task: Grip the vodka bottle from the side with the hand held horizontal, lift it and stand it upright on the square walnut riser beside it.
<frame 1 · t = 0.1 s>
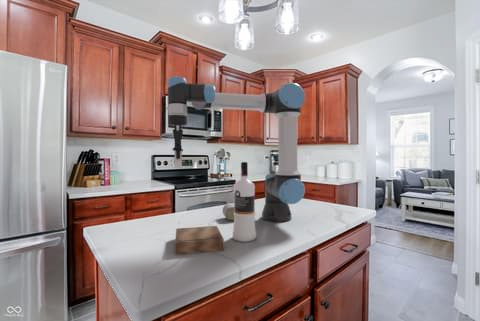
hand: (178, 166, 102), 28 cm above the worktop, tool pointing down, fingers open, 13 cm apart
ceramic mug: (233, 219, 125), on the worktop
riser: (198, 244, 90), on the worktop
vodka: (244, 238, 96), on the worktop
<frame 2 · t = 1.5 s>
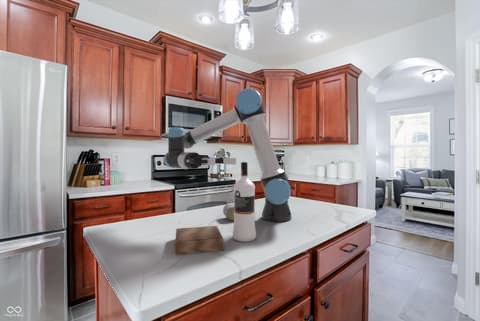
hand: (225, 161, 101), 30 cm above the worktop, tool horizontal, fingers open, 13 cm apart
nothing on the worktop moved.
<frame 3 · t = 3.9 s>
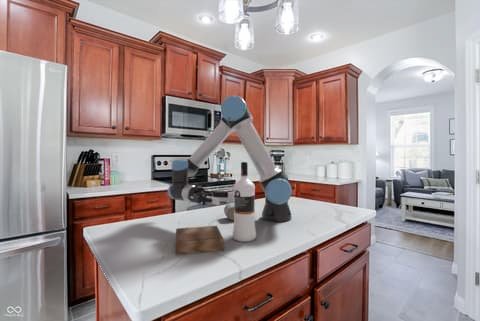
hand: (230, 198, 99), 15 cm above the worktop, tool horizontal, fingers open, 13 cm apart
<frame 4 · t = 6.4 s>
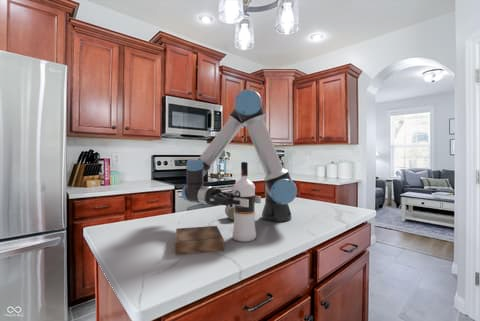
hand: (254, 201, 93), 15 cm above the worktop, tool horizontal, fingers closed on vodka, 8 cm apart
vodka: (244, 238, 96), on the worktop, touching gripper
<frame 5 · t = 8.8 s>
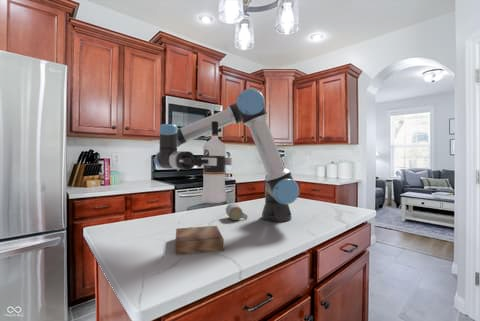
hand: (223, 161, 89), 30 cm above the worktop, tool horizontal, fingers closed on vodka, 8 cm apart
vodka: (213, 201, 92), point 15 cm above the worktop, touching gripper
when the fingers open (20 cm above the worktop, at t = 11.4 s): vodka stays where it is, resting on riser.
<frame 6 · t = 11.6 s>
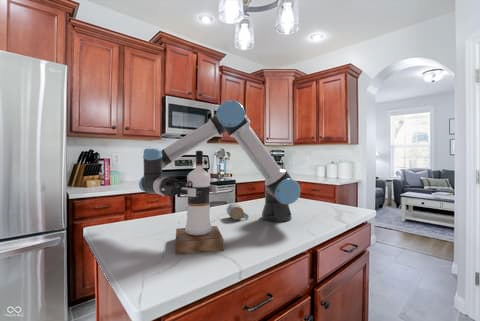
hand: (206, 190, 87), 20 cm above the worktop, tool horizontal, fingers open, 10 cm apart
vodka: (198, 232, 90), point 4 cm above the worktop, touching riser
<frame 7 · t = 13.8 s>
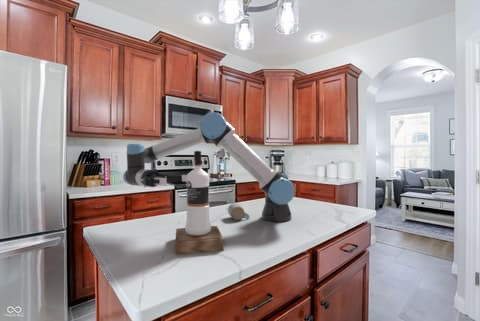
hand: (180, 180, 96), 23 cm above the worktop, tool horizontal, fingers open, 13 cm apart
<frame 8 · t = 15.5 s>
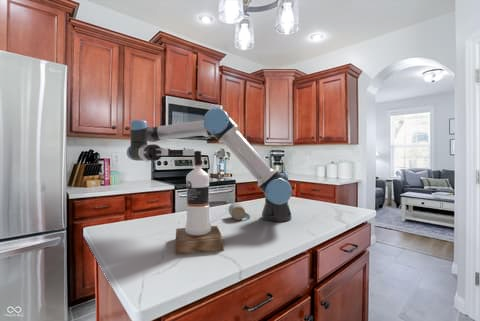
hand: (181, 152, 101), 34 cm above the worktop, tool horizontal, fingers open, 13 cm apart
at the end: vodka inside the target area on the riser (0.1 cm from its centre), point 4.1 cm above the riser's base; vodka tilted 0°; the gripper is holding nothing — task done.
